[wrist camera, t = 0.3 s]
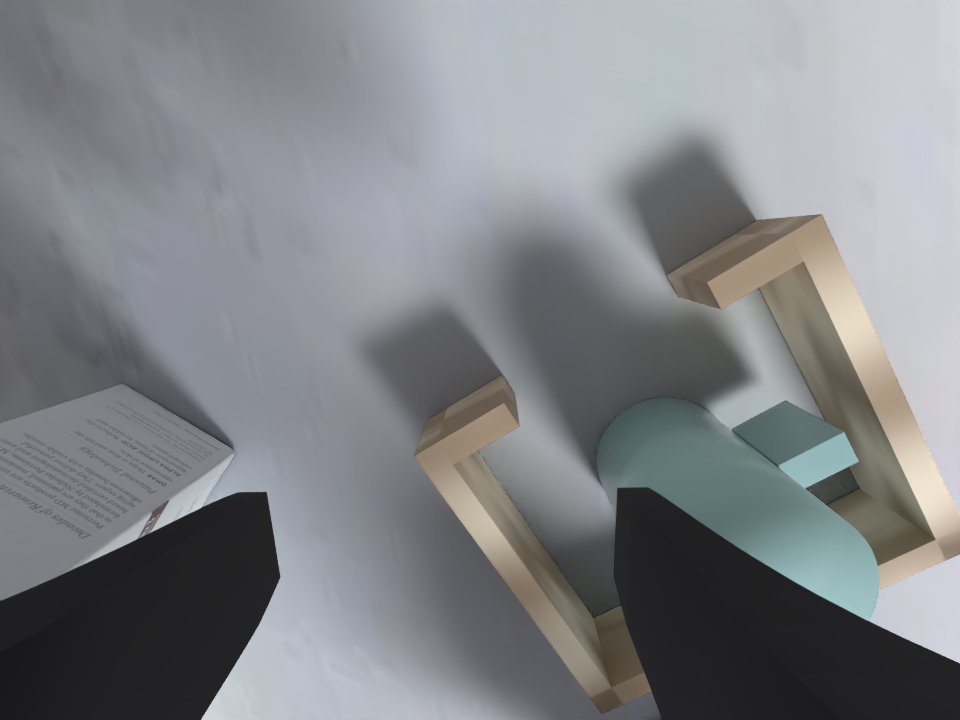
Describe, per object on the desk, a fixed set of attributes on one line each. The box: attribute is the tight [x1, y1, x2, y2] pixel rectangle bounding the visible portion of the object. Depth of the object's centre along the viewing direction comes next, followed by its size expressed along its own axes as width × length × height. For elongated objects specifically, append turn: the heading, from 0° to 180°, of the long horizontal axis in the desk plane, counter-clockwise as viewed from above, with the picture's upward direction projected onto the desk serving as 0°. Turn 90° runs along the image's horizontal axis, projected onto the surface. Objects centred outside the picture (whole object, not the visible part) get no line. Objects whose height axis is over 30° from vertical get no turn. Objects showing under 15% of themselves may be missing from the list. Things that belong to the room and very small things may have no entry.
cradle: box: [414, 214, 960, 714], centre depth 18 cm, size 14×15×4 cm
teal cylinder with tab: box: [596, 397, 880, 621], centre depth 16 cm, size 6×8×8 cm
